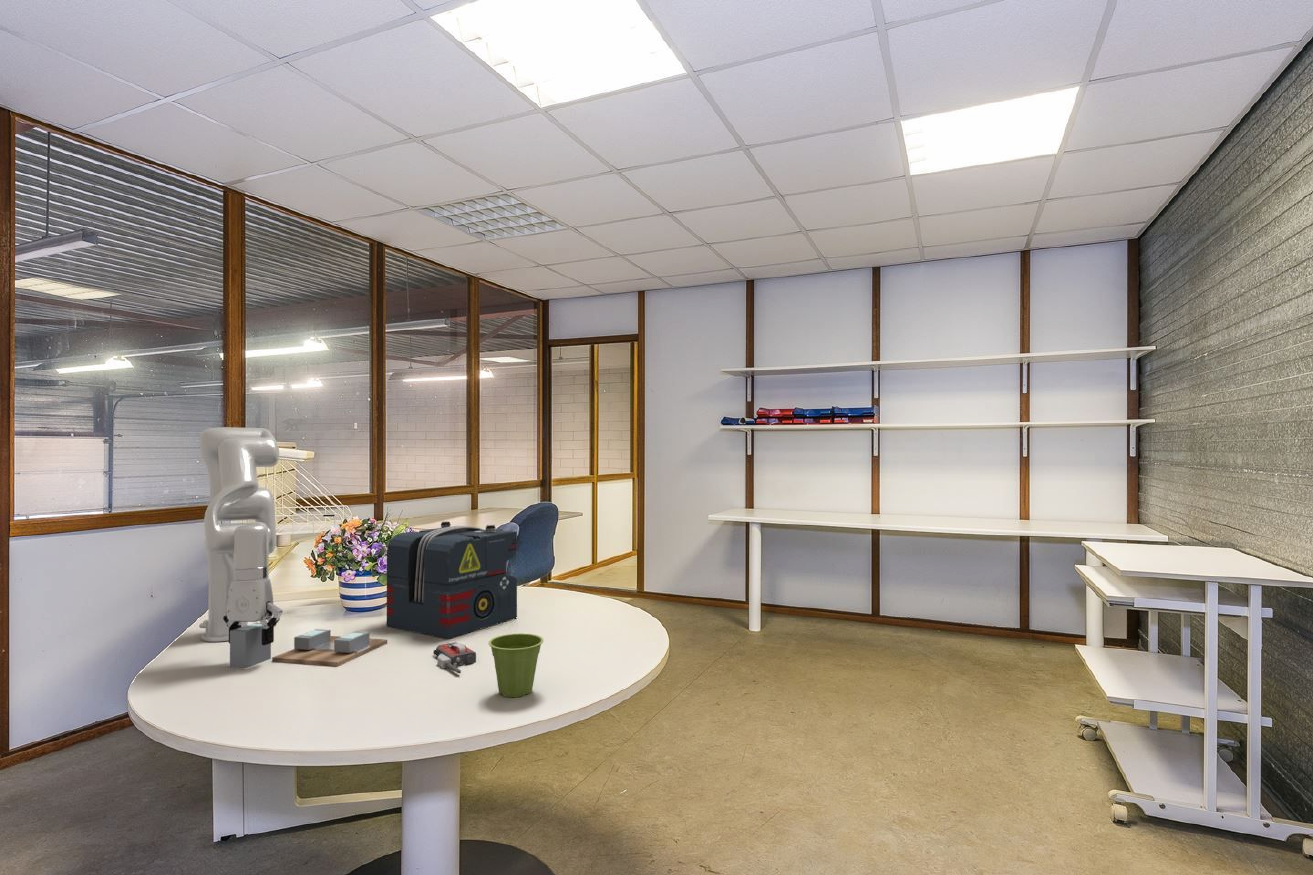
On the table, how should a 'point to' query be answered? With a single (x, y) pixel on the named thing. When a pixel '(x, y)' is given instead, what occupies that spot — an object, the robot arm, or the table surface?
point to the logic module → (248, 646)
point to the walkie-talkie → (454, 655)
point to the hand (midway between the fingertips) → (251, 642)
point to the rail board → (329, 648)
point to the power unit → (450, 580)
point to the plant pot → (515, 662)
